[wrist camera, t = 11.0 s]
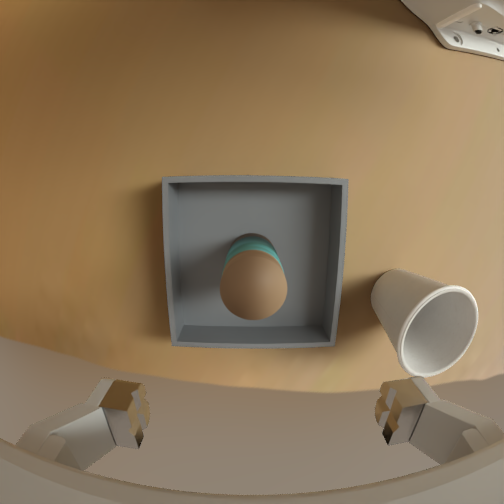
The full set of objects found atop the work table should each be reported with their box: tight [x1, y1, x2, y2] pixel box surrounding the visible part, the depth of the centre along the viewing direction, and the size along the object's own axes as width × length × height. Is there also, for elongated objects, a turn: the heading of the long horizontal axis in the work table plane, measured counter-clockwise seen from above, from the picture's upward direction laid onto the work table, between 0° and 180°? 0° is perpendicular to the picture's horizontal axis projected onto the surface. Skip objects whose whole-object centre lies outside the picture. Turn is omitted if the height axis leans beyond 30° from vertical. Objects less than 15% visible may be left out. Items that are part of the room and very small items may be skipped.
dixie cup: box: [371, 269, 478, 377], centre depth 26 cm, size 8×8×10 cm
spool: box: [220, 233, 287, 320], centre depth 25 cm, size 4×4×9 cm
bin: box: [162, 175, 348, 348], centre depth 28 cm, size 15×15×4 cm
